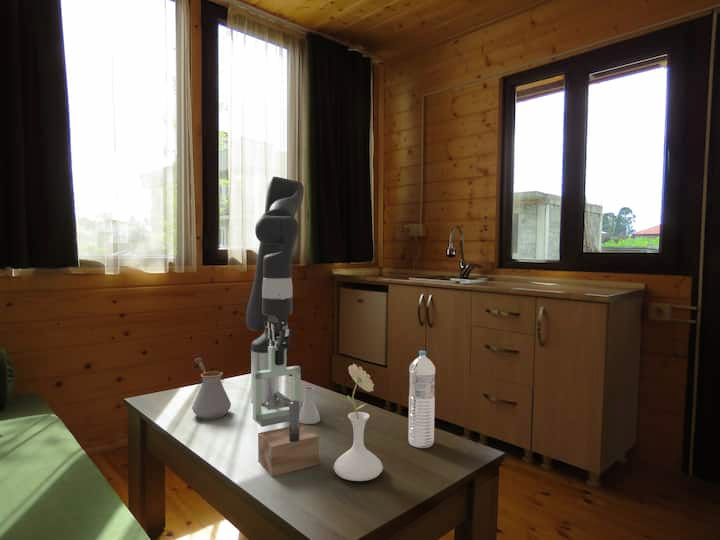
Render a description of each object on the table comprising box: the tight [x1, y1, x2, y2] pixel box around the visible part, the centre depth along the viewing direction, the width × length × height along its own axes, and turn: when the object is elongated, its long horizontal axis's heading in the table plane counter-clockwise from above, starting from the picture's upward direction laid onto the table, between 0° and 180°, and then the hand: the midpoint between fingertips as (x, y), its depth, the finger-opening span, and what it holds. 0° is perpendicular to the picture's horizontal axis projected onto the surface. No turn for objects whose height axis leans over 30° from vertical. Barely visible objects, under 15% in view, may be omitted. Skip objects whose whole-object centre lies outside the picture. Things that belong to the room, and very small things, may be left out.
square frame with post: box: [252, 345, 302, 427], centre depth 119 cm, size 5×12×19 cm, turn 121°
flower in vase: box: [333, 363, 384, 482], centre depth 108 cm, size 13×11×25 cm
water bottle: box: [407, 350, 436, 449], centre depth 125 cm, size 7×7×25 cm
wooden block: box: [257, 423, 320, 477], centre depth 113 cm, size 9×12×7 cm
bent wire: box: [263, 390, 300, 442], centre depth 118 cm, size 21×2×9 cm, turn 31°
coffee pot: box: [191, 357, 232, 421], centre depth 148 cm, size 21×12×15 cm, turn 34°
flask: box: [299, 386, 321, 425], centre depth 141 cm, size 7×7×10 cm
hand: (277, 363), depth 119 cm, fingers closed on square frame with post, 2 cm apart
